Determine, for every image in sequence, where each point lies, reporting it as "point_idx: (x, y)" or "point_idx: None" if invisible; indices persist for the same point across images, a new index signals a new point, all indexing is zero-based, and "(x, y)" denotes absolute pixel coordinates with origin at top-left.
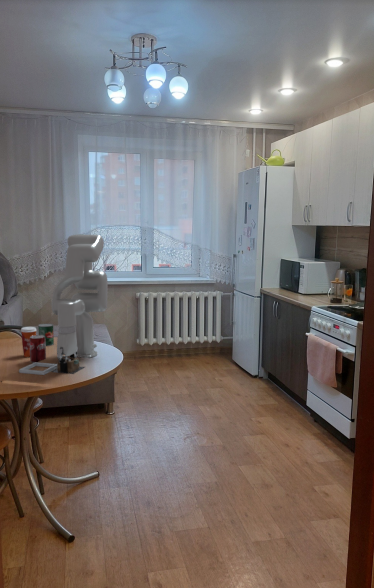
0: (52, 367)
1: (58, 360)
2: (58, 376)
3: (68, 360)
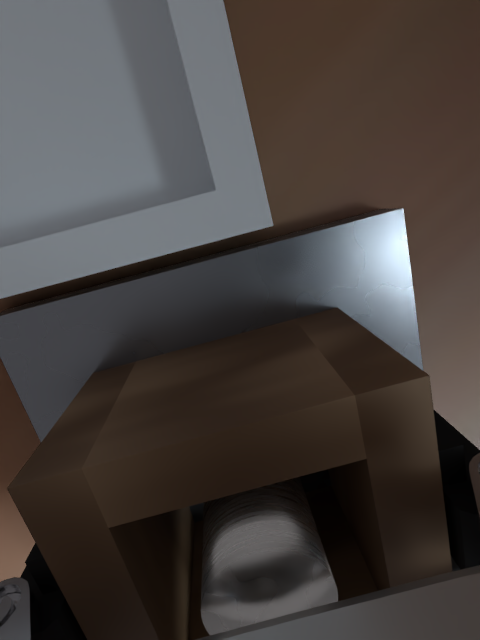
0: (47, 284)
1: (75, 470)
2: (29, 453)
3: (227, 627)
